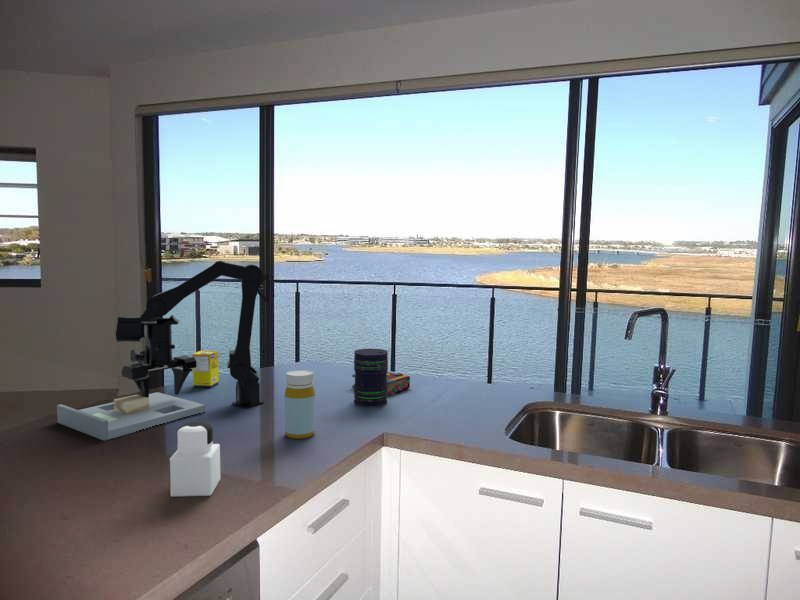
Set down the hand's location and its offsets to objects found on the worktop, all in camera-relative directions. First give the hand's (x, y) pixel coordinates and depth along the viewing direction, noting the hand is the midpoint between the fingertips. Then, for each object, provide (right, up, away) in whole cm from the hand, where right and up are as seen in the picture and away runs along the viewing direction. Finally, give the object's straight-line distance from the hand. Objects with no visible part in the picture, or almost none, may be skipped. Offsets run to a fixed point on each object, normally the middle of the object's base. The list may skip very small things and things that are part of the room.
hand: (161, 397), depth 146 cm
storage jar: (+56, -3, +10) cm, 57 cm away
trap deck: (-4, -4, -6) cm, 8 cm away
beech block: (-5, -2, -7) cm, 9 cm away
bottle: (+41, -6, -18) cm, 45 cm away
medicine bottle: (+27, -8, -47) cm, 55 cm away
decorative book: (+59, -2, +27) cm, 65 cm away
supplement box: (+2, -1, +27) cm, 27 cm away
